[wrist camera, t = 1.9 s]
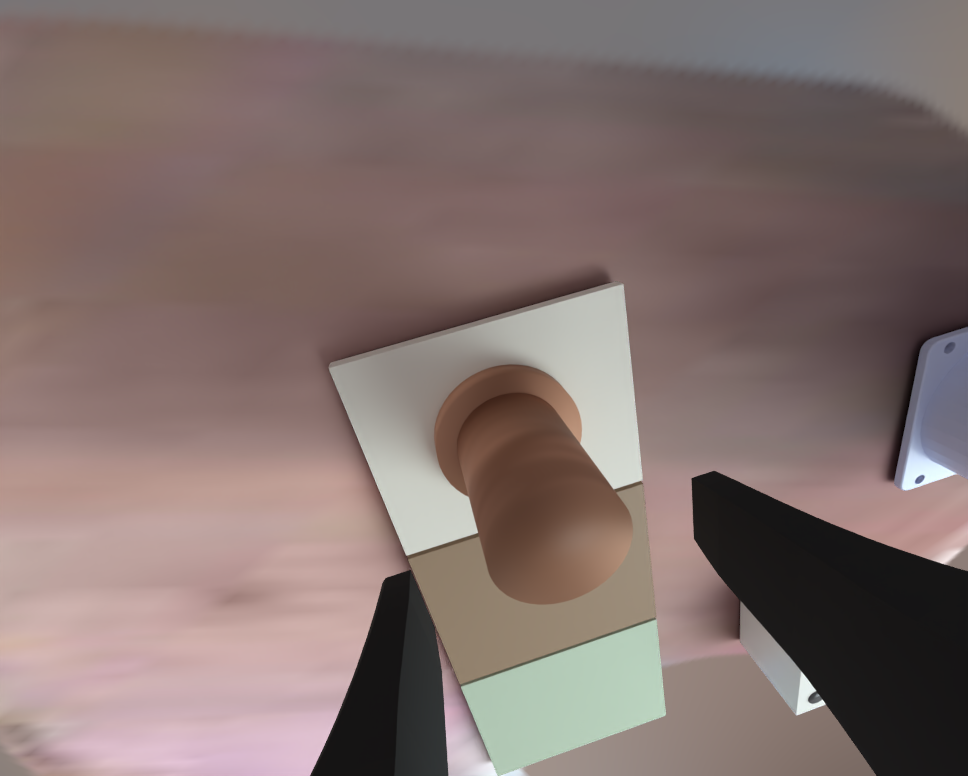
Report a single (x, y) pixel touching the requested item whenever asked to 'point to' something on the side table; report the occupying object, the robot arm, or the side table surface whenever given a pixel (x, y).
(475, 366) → the board
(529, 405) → the pawn
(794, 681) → the die
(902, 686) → the robot arm
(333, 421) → the side table surface
